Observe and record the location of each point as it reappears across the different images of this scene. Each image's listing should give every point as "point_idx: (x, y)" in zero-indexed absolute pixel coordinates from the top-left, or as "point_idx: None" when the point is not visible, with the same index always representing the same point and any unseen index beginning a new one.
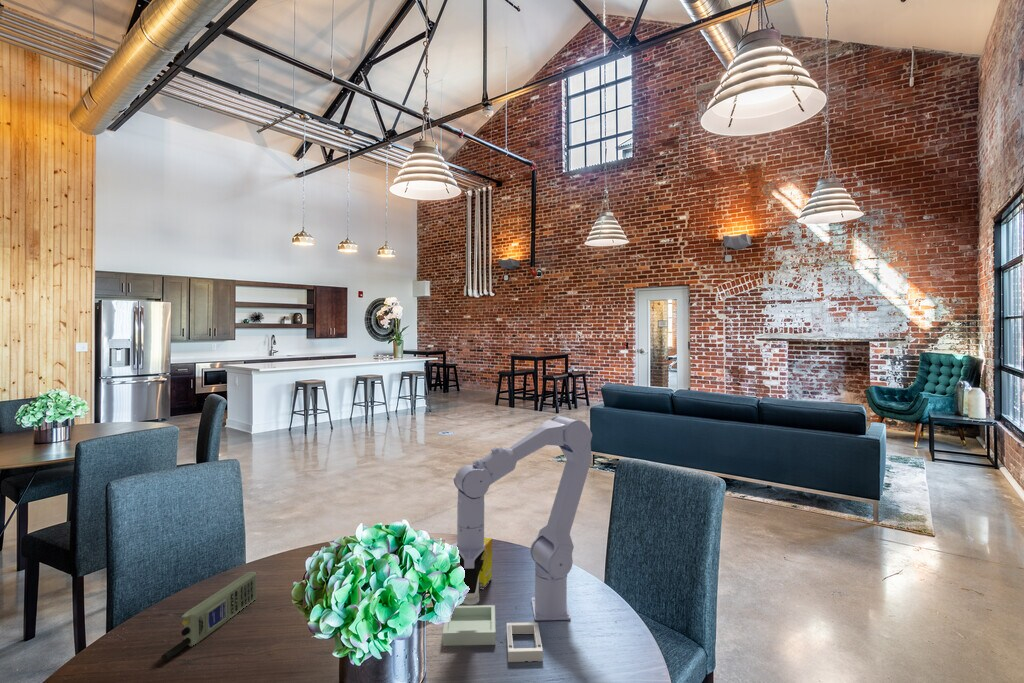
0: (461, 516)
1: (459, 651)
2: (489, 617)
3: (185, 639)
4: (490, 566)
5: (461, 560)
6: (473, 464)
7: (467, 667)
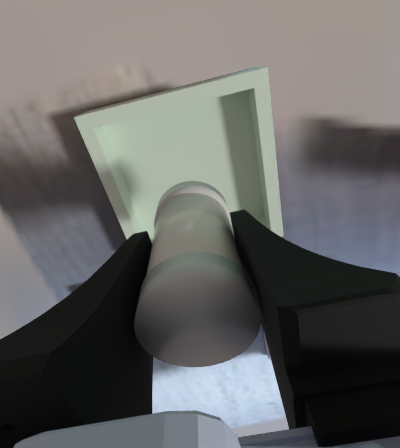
0: None
1: (82, 170)
2: (254, 213)
3: None
4: None
5: (13, 419)
6: None
7: (29, 208)
